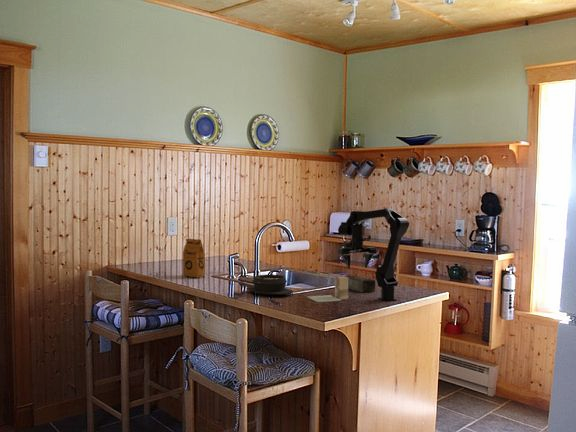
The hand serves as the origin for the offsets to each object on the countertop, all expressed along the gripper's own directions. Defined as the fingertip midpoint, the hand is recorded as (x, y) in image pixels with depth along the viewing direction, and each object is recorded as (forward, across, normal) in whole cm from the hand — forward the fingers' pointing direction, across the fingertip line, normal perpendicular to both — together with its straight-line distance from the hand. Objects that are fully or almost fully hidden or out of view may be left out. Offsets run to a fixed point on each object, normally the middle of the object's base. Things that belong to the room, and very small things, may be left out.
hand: (357, 268), depth 272 cm
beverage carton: (+13, -6, -11) cm, 18 cm away
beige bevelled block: (+13, +12, +7) cm, 19 cm away
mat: (+13, +21, +8) cm, 26 cm away
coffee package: (+11, +69, -70) cm, 99 cm away
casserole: (+12, +42, -12) cm, 45 cm away
